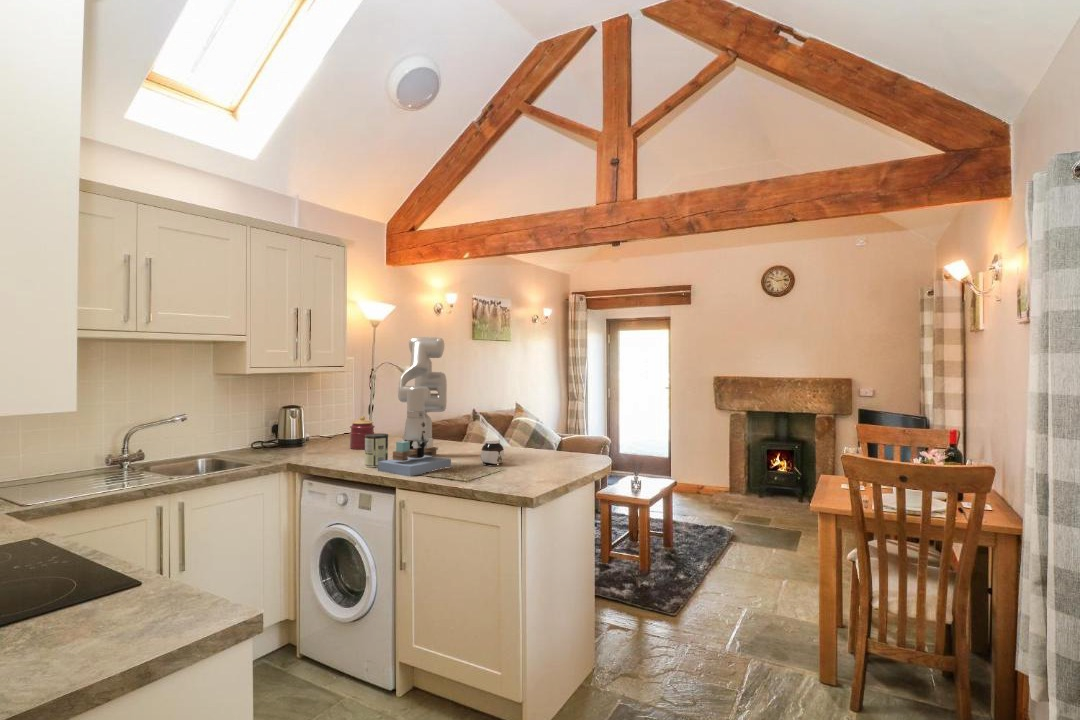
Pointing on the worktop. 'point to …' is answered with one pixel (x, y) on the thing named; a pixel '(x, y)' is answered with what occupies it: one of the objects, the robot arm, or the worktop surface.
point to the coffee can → (375, 449)
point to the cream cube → (429, 443)
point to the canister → (360, 432)
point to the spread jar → (492, 452)
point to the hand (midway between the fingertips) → (415, 455)
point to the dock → (413, 465)
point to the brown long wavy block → (413, 453)
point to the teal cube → (402, 446)
